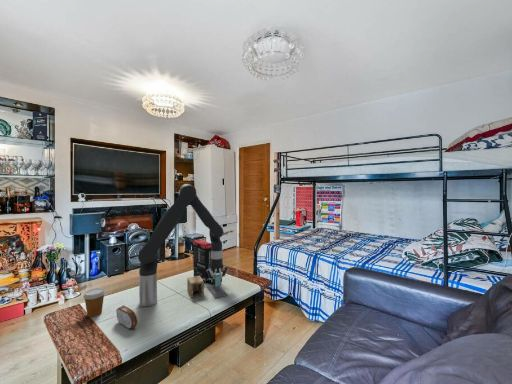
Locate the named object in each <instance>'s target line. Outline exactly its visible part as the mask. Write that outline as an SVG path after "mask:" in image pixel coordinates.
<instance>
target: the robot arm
mask: <svg viewBox="0 0 512 384" xmlns="http://www.w3.org/2000/svg"><path fill="white" fill-rule="evenodd" d="M188 206H190V207H192V209H193V210H194V212H195V213H196V214H197V217H198V218H199V220H200V221H201V223H202V224H203V225H204V226H205V227H206V228H207V229H208V230H209V231H208V232H209V239H210V243H211V267H210V269H207V270H206V271H207V273H208V276H209V278H210V279H212V282H211V284H212V285H215V276H216V273H218V274H219V275H221V283H222V282H223V277H225V276H226V274H227V270H228V266H225V265H224V260H223V258H224V257H223V242H222V241H221V238H222V236H223V235H224V232H225V231H224V228H223V227H222V226H221V225H220V224H219V223H218V221H217V220H216V219H215V218H214V217H213V215H212V213H211V212H210V211H209V209H208V208H207V207H206V205H204V204H203V202H202V201H201V200H200V198H199V197H198V195H197V189H196V187H195V186H194V185H192V184H190V183H184V184H182V185H181V186H180V187H179V194H178V196H177V198H176V199H175V201H174V202H173V204H171V206H170V207H169V208H168V209H167V210H166V211H165V212H164V214H163V215H162V216H161V218H160V220H159V222H158V223H157V224H156V226H155V228H154V230H153V232H152V234H151V236H150V237H149V239H148V240H147V241H146V243H145V244H144V245H143V247H142V248H140V250H139V251H138V254H137V260H138V262H139V263H140V266H139V269H138V271H139V272H138V274H139V275H138V276H139V288H138V289H139V292H138V293H139V294H138V295H139V298H138V299H139V300H138V301H139V307H141V308H142V307H150V306H154V305H155V304H157V302H158V252H159V249H160V248H161V246H162V244H163V243H164V242H165V241H166V239H168V238H169V236H170V234H171V233H172V232H173V231H174V229H175V228H176V226H177V224H178V223H179V220H181V218H182V216H183V214H184V213H185V211H186V209H187V208H188ZM211 270H212V276H211V274H210V272H211Z"/></svg>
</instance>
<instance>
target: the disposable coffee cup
mask: <svg viewBox="0 0 512 384" xmlns="http://www.w3.org/2000/svg"><path fill="white" fill-rule="evenodd" d="M105 294H106V290H105V289H104V288H101V287H100V288H98V287H97V288H93V289H89V290H87V291H85V292H84V295H83V299H84V302H85V303H84V305H85V310H86V315H87V317H89V318H95V317H98V316H100V315H101V314H102V312H103V308H104V307H103V305H104V300H105V299H104V297H105Z"/></svg>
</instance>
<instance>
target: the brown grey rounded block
mask: <svg viewBox="0 0 512 384" xmlns="http://www.w3.org/2000/svg"><path fill="white" fill-rule="evenodd" d="M116 319H117V321H118V323H119V324H120V325H122V326H123V327H124V328H126V329H128V330H131V329H134V328H136V327H137V326H138V317H137V315H136V312H135V311H134V310H133V309H131V308H129V307H127V306H126V305H122V306H119V307H118V308H116Z"/></svg>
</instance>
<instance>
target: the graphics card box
mask: <svg viewBox="0 0 512 384" xmlns="http://www.w3.org/2000/svg"><path fill="white" fill-rule="evenodd" d="M192 252H193V253H192V259H193V277H195V276H200V277H201V278H202V279H203V280H204V281H205V282H204V283H207V282H206V281H208V280H210V278H209V276H208V273H207V271H206V270H207V269H210V267H211V242H207V241H204V240H201V239H198V240H197V239H196V240H193V241H192Z"/></svg>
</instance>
